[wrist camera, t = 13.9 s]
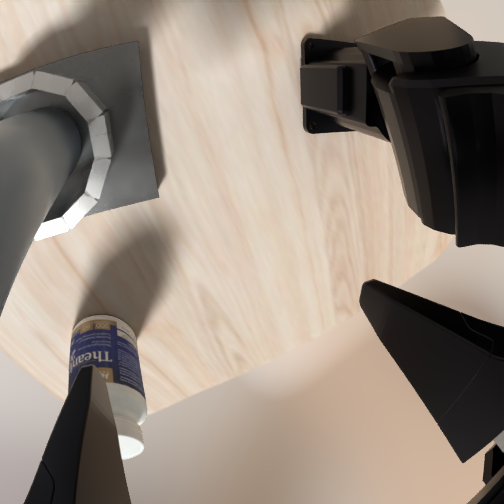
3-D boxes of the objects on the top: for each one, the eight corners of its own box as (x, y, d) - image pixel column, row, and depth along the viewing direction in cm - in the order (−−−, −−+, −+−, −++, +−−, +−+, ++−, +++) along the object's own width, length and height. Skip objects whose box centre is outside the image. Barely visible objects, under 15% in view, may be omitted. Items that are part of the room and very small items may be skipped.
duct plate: (137, 43, 13) (139, 33, 10) (157, 190, 18) (164, 214, 15) (-45, 109, 10) (-76, 118, 7) (-9, 238, 15) (-28, 269, 12)
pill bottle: (106, 300, 20) (113, 418, 13) (148, 341, 24) (172, 447, 16) (58, 332, 20) (51, 444, 12) (101, 367, 23) (112, 469, 16)
